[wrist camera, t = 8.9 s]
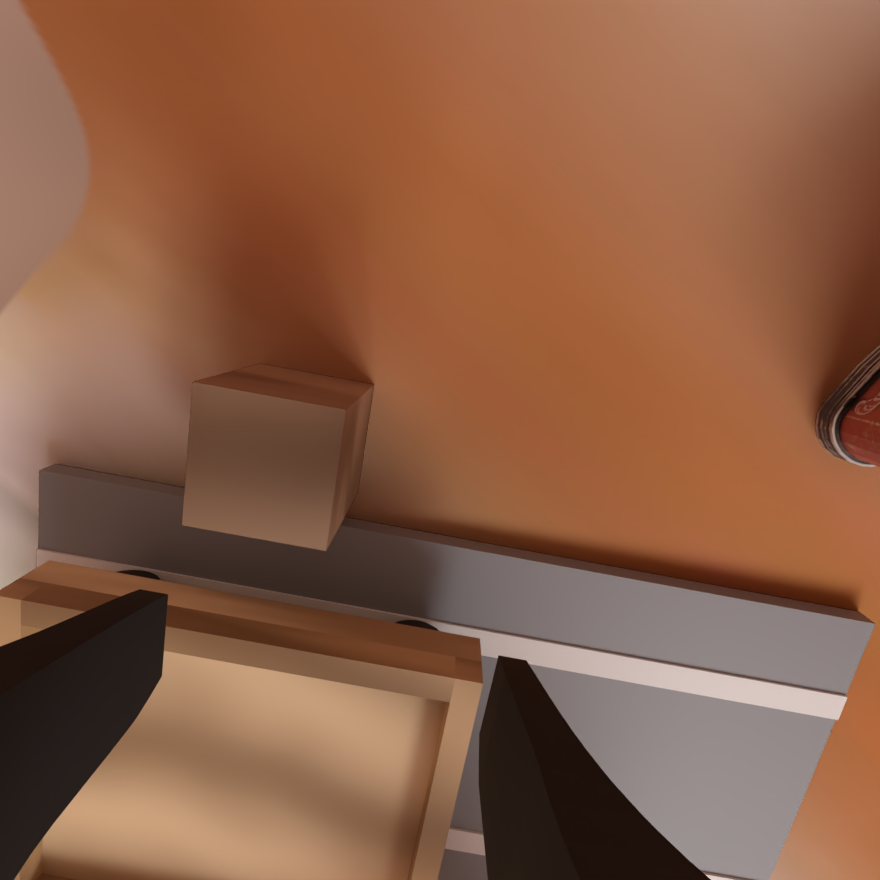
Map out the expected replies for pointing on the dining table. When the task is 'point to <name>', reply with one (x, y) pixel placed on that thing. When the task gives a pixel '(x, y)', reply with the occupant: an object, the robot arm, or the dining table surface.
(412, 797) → the tray
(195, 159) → the dining table surface
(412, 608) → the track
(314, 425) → the block
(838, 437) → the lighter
